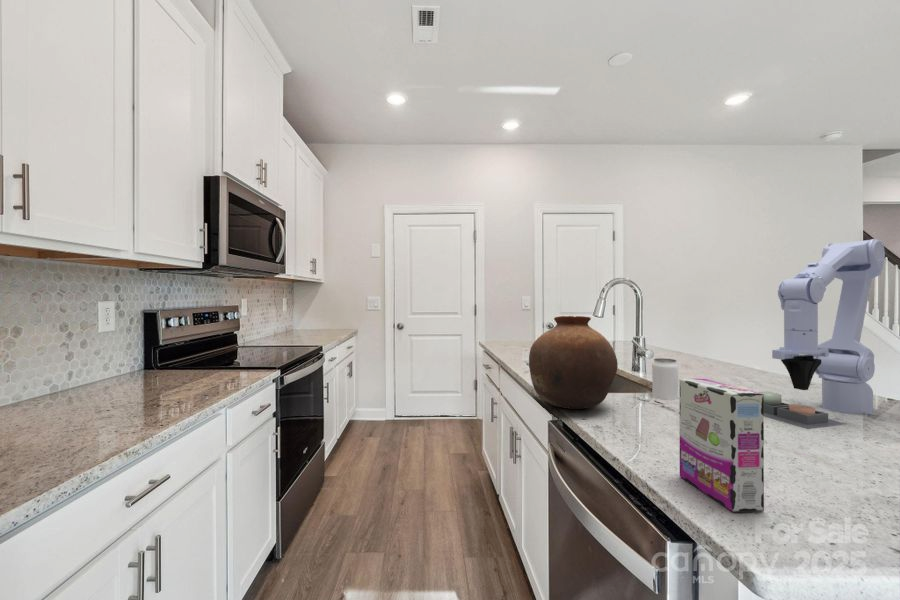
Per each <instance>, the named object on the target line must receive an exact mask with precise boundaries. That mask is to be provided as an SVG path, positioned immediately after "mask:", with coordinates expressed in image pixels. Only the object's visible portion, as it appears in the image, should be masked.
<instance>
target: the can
mask: <svg viewBox="0 0 900 600" xmlns="http://www.w3.org/2000/svg"><path fill="white" fill-rule="evenodd" d="M651 365H652V366H651V367H652V368H651V371H652V373H651V374H652V375H651V378H652V379H651V380H652V382H651V383H652V384H651V385H652V391H651V392H652V397H654V398H656V399H661V400H668V401H669V400H670V401H672V400H678V399H680V389H679V365H678V363H677V360H676V359H672V358H663V357H662V358H660V357H659V358H658V357H657V358H653V363H652V364H651ZM653 401H654V402H655V403H656V404H661V405H664V403H663V402H660V401H657V400H653Z"/></svg>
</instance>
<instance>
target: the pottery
mask: <svg viewBox="0 0 900 600" xmlns="http://www.w3.org/2000/svg"><path fill="white" fill-rule="evenodd" d="M553 319H554V321H555V323H556V324H555V326H553V327H552V328H551V329H549V330H547V331H545V332H544V333H542V334H541V335H540V336H538V337H537V339H536V340H535V341H534V342H533V343H532V345H531V347H530V350H529V354H528V366H529V374H530V375H529V376H530V379H531V383H532V384H531V385H533V389H534V391H535V393H536V395H538V396H539V398H541V399H540V400H542V401H544V402H546V403H547V404H550V405H551V406H556V407H558V408H563V409H573V410H574V409H576V410H579V409H581V410H582V409H589V408H592V407H595V406H598V405H600V404H601V403H602V402H604V401H605V400H606V398H607V396H608V394H609V391H610V389H611V387H612V384H613V382H614V379H615V378H616V375H617V372H618V364H619V363H618V359H617V355H616V352H615V350H614V348H613V347H612V344H611V343H610V342H609V340H608V339H607V338H606V337H605V336H604V335H603V334H601V333H600V332H598V331H597V330H596V329H594V328H592V327H591V326H590V325H589V322H590V321H591V319H592V317H591V316H583V315H582V316H581V315H575V316H574V315H558V316H554V318H553Z"/></svg>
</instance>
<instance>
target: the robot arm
mask: <svg viewBox="0 0 900 600" xmlns="http://www.w3.org/2000/svg"><path fill="white" fill-rule="evenodd" d="M885 257H886V252H885V246H884V244H883V242H882V240H881V241H880V239H878V238H871V239H865V240H858V241H857V240H856V241H847V242H836V243H827V244H826V245H825V246H824V247H823V248H822V252H821V258H820V259H819V261H814V262H809V263H807V266H805V267H804V268H803V269H802V270H801V271H800V272H798V273H797V274H796V275H795V276H794V277H793V278H787V279H785V280H783V281H780V283H779V285H778V290H777V297H778V299H779V302H780V308H781V310H783V328H784V329H783V335H784V336H783V339H784V341H783V343H784V344H783V346H782V347H781V346H780V347H779V349H772V350H771V351H772V352H771V353H772V355H771V359H774V360H775V359H776V360H780V362H782V364H783V365H784V367H785V369H786V370H787V373H788V375H789V378H790V380H791V384H792V386H793V389H796V390H801V391H808V390H809V388H810V387H811V386H810V385H811V384H812V383H811V382H812V379H813V376H814V374H816V375H817V376H818V378H819V379H821V408H822V409H824V410H827V411H831V412H835V413H841V414H848V415H863V414H868V415H874V392H873V388H872V387H871V385H870V384H869V383H867V382H869V381H870V380H871V379H873V377H874V375H875V367H876V366H875V354H874V352H873V351H872V350H871V349H870V348H869V347H867V346H866V345H864V344H862V343H861V338H862V331H863V328H864V321H865V316H866V309H867V305H868V300H869V295H870V289H871V285H872V280H873V279H875V278H876V277H879V276H881V275H882V271H883V268H884V263H885ZM835 279H838V280H840V281H842V286H841V291H840V294H839V295H840V296H839V300H838V306H837V311H836V316H835V321H834V326H833V330H832V336H831V339H828V340H826V341H824V342H821V343H819V335H818V334H819V330H818V329H819V321H818V320H819V318H818V317H819V315H818V312H819V311H818V310H819V309H818V308H819V306H818V303H820V302H822V301H823V298H824V296H825V295H824V294H825V292H826V291H827V290H826V289H827V286H829V285H830V284H831V283H832V282H833V281H834V280H835Z"/></svg>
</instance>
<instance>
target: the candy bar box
mask: <svg viewBox="0 0 900 600" xmlns="http://www.w3.org/2000/svg"><path fill="white" fill-rule="evenodd" d="M678 382H679V477H680V478H681V479H683V480H684V481H685V482H686V483H688V484H690V485H692V486H693V487H695V488H696V489H698V490H699V491H700V492H702V493H703V494H705V495H707V496H708V497H710V498H711V499H713V500H714V501H716V502H717V503H719V504H721V506H723V507H725V508H726V509H727V510H729V511H731V512H732V513H750V512H751V513H753V512H763V511H765V490H764V488H765V487H764V486H765V482H764V481H765V480H764V478H765V476H764V475H765V474H764V473H765V472H764V469H765V468H764V465H765V461H764V460H765V458H764V457H765V456H764V444H765V443H764V441H765V440H764V439H765V438H764V437H765V436H764V434H765V432H764V431H765V430H764V428H765V427H764V418H765V417H764V394H761V393H758V392H756V391H753V390H752V391H750V390H746V389H742V388H738V387H734V386H735V385H730V384H727V383H726V384H725V383H723V382H719V381H715V380H710V379H708V378H707V379H706V378H681V379H680V378H679V379H678Z"/></svg>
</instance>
